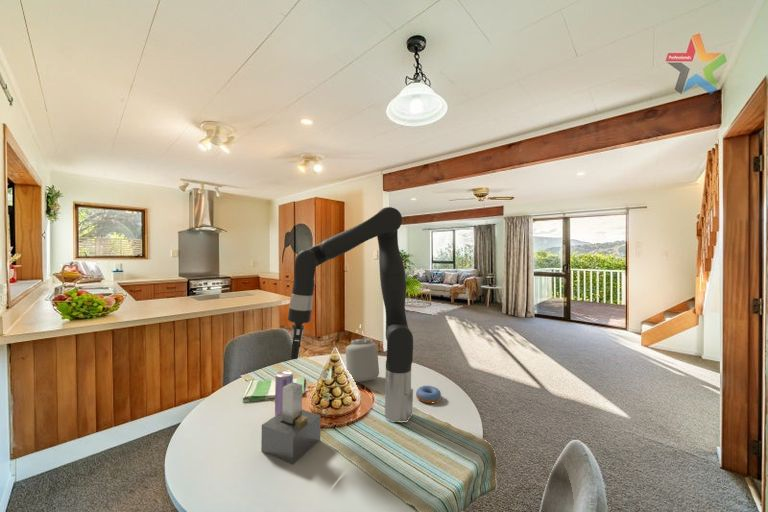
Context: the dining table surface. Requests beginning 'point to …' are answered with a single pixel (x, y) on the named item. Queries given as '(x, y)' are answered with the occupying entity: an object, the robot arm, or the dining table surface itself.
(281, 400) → the beverage can
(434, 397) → the doughnut
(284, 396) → the column
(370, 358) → the jar
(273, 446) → the base
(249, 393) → the dish towel
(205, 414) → the dining table surface
